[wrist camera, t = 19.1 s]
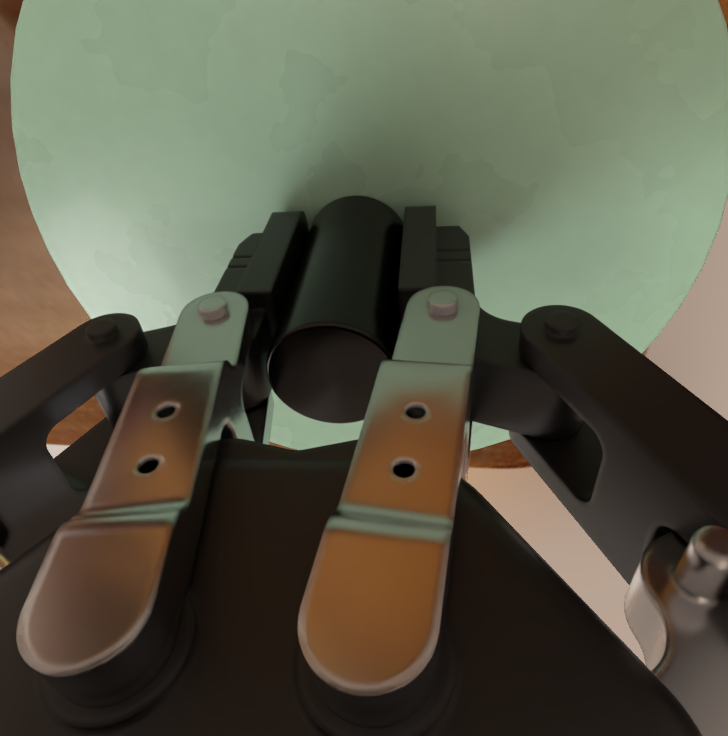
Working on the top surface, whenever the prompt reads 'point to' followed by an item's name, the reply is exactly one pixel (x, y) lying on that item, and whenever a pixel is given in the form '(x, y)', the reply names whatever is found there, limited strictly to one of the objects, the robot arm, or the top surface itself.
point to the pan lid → (374, 162)
